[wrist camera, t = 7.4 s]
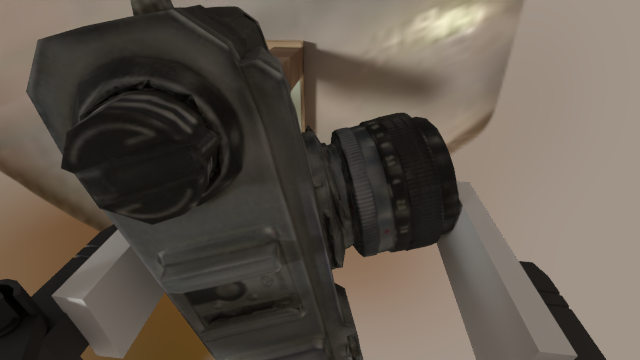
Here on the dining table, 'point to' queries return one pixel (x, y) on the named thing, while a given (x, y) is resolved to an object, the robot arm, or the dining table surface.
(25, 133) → the dining table surface
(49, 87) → the camera
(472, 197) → the robot arm
